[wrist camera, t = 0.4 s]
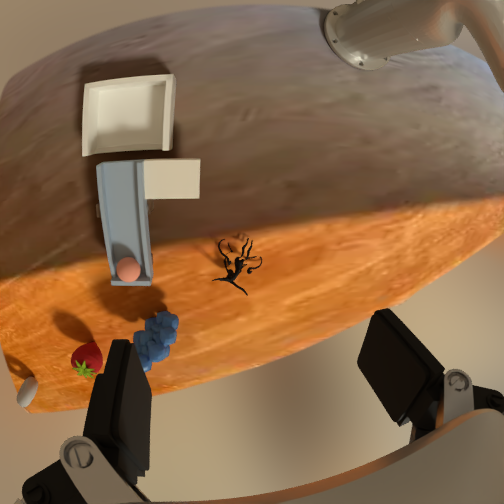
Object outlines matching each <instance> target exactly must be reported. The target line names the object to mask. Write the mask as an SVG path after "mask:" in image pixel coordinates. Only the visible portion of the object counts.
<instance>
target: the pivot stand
mask: <svg viewBox="0 0 504 504" xmlns="http://www.w3.org/2000/svg"><path fill="white" fill-rule="evenodd" d="M147 204H148V206H149V209H148V211H147V212H148V214H150V213H151V212H152V210H153V208H154V200H153V199H147ZM96 212H97V217H101V211H100V203H99V202H98V203H97V204H96Z"/></svg>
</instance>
